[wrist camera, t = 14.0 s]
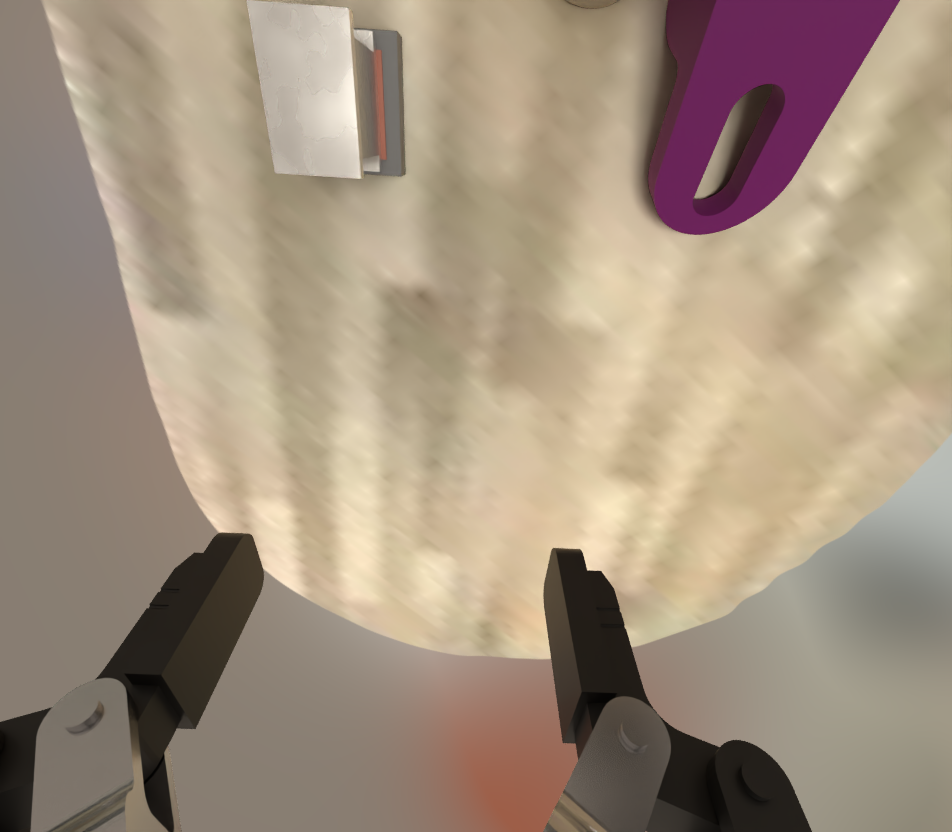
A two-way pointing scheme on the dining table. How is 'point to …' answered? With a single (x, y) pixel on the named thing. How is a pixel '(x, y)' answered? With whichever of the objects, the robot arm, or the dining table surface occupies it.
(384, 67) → the stand
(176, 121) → the dining table surface
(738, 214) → the mounting bracket
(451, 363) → the dining table surface
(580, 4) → the travel mug
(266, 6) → the housing
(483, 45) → the dining table surface
